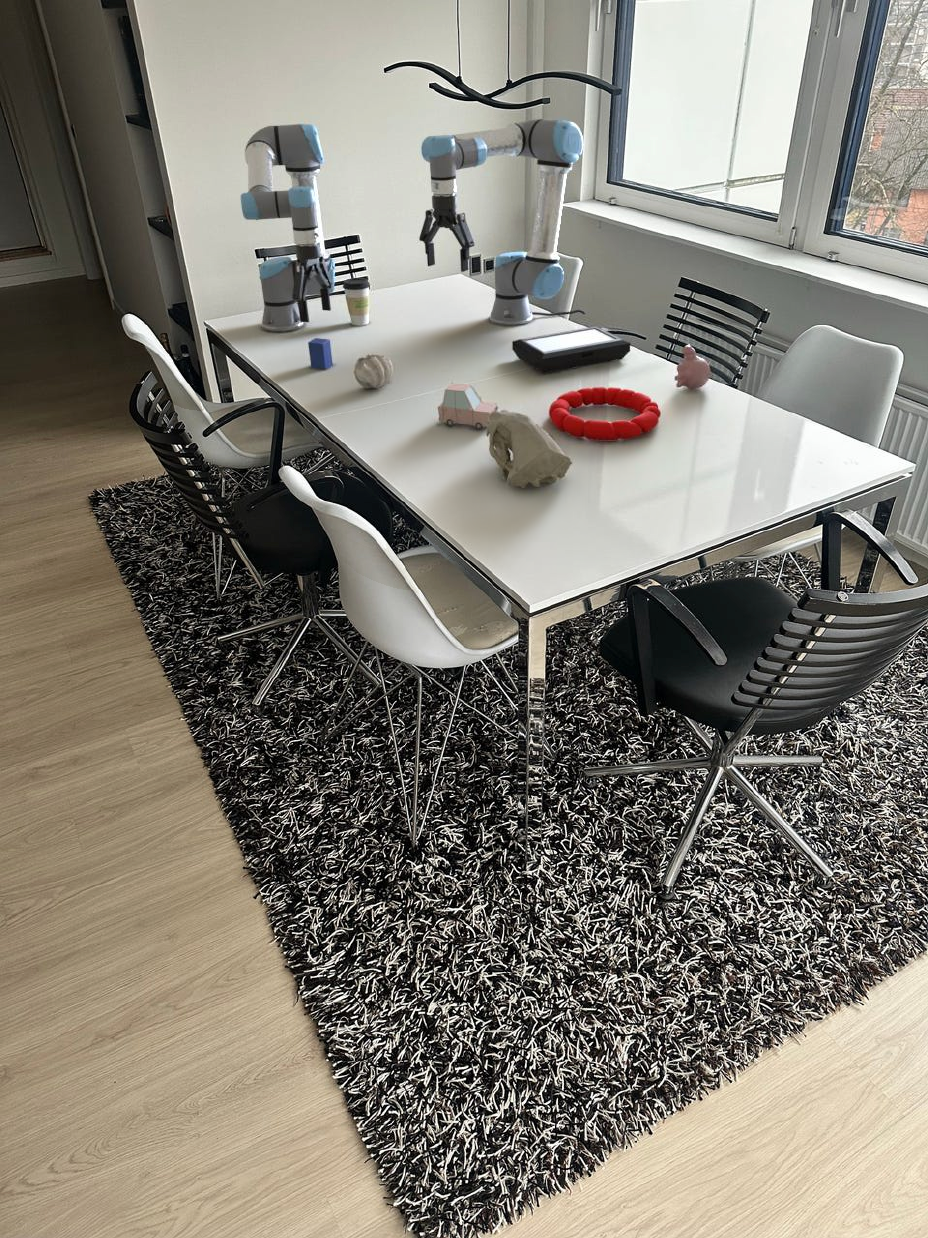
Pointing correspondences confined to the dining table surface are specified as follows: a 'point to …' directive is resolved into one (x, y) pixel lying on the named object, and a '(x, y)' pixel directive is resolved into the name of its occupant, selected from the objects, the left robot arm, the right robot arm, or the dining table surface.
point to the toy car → (465, 406)
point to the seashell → (373, 371)
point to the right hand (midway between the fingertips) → (447, 267)
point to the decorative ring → (604, 428)
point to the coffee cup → (357, 300)
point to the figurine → (692, 370)
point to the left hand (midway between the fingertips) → (316, 315)
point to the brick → (320, 353)
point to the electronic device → (570, 349)
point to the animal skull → (525, 450)
